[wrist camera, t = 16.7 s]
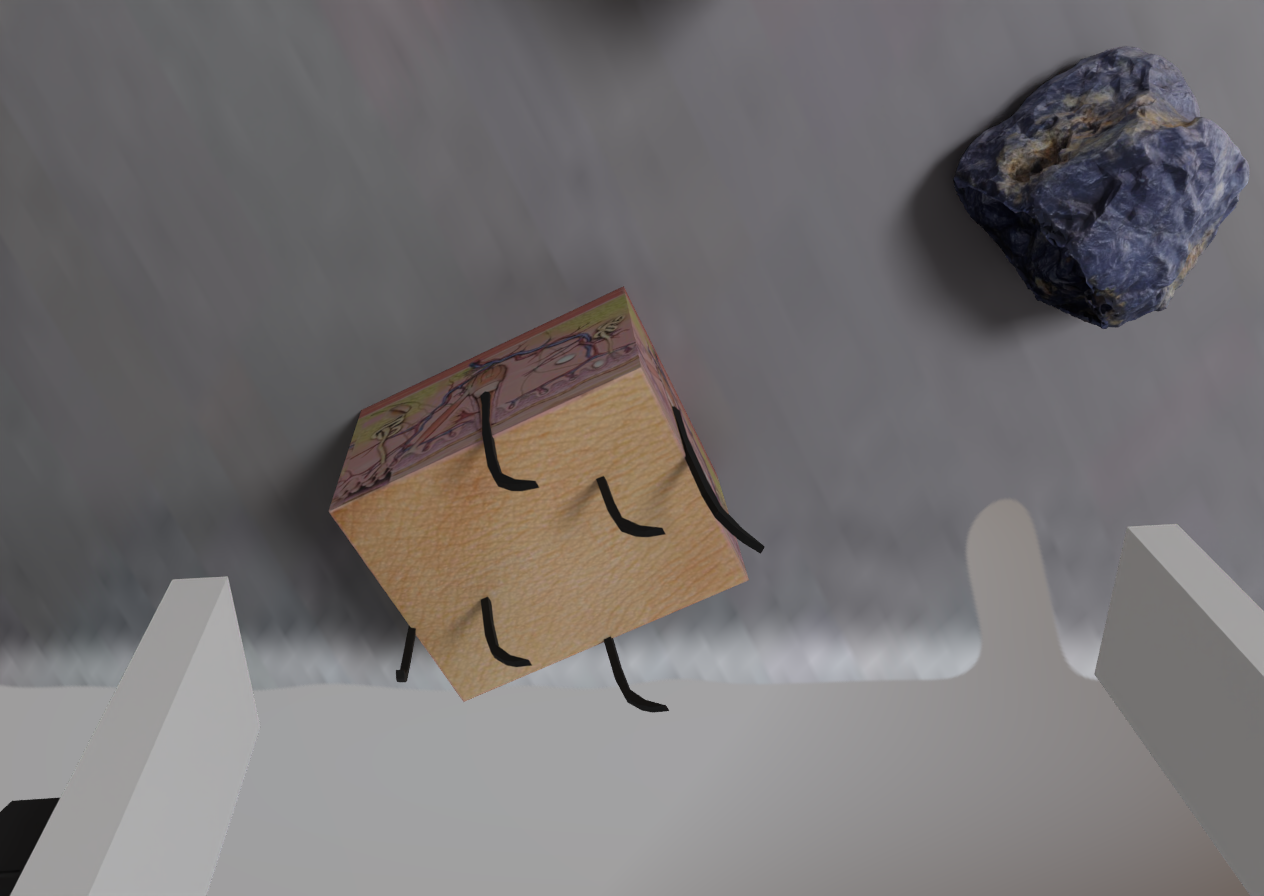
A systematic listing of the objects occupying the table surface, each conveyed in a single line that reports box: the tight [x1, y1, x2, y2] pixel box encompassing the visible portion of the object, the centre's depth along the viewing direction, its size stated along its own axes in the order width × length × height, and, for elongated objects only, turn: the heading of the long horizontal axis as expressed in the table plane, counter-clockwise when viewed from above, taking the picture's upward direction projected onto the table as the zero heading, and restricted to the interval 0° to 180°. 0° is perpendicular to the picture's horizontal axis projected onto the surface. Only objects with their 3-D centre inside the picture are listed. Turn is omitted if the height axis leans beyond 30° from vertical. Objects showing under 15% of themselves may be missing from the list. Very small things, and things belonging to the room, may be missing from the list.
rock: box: [953, 46, 1249, 329], centre depth 47 cm, size 11×10×10 cm
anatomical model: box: [329, 286, 764, 712], centre depth 47 cm, size 16×11×15 cm
